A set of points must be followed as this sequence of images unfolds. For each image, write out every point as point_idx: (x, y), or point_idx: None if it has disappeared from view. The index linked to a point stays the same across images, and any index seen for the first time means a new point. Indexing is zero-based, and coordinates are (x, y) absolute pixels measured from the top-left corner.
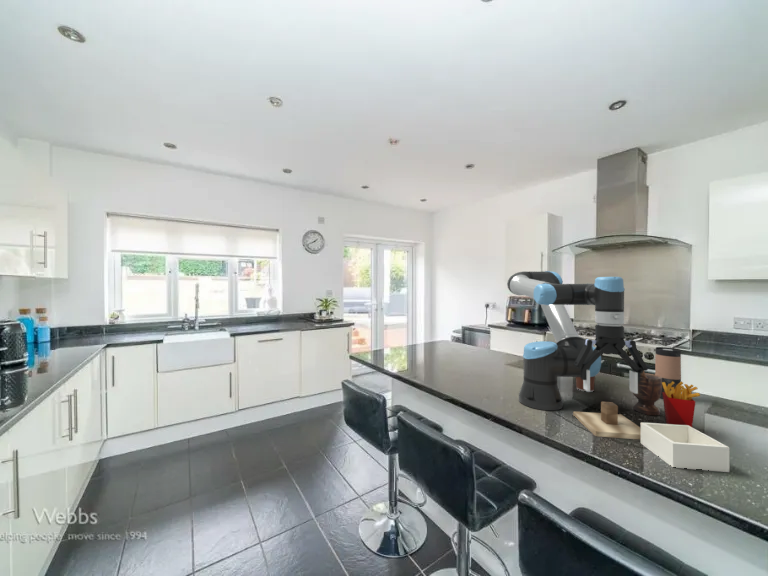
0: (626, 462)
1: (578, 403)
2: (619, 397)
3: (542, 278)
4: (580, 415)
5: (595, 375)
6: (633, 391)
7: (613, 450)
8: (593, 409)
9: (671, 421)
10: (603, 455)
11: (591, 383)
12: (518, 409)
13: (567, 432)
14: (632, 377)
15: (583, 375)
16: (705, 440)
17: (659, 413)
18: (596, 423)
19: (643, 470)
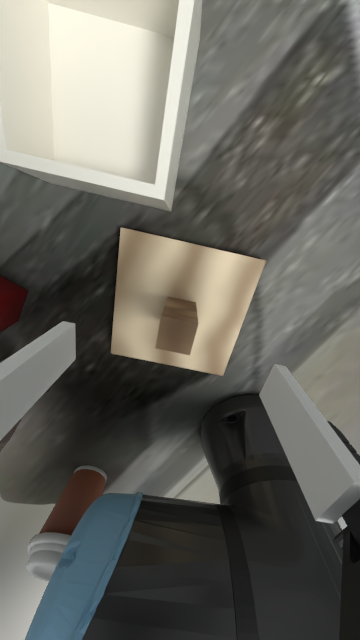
0: (317, 84)
1: (157, 421)
2: (41, 439)
3: None
4: (223, 353)
5: (102, 496)
6: (72, 336)
7: (286, 170)
8: (145, 393)
9: (10, 294)
10: (346, 137)
11: (75, 487)
12: (329, 405)
13: (318, 284)
14: (14, 395)
15: (349, 450)
16: (8, 43)
17: (4, 359)
18: (220, 307)
19: (312, 19)
